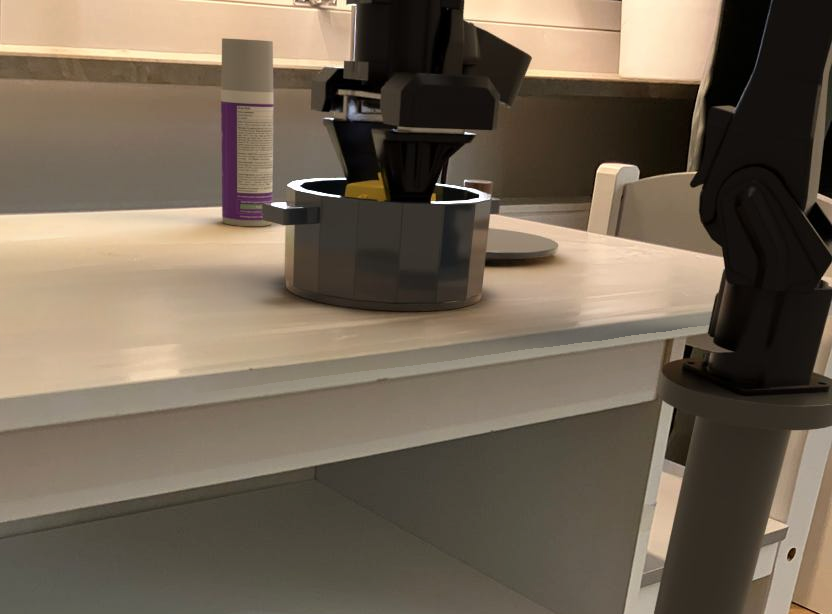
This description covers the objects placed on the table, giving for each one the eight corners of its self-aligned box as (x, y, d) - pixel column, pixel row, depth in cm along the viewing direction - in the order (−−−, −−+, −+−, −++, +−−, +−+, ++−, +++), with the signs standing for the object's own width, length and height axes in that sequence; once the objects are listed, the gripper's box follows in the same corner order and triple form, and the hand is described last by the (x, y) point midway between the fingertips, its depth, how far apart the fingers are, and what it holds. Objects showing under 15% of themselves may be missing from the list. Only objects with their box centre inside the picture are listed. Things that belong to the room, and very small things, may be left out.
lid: (592, 260, 90) (603, 189, 87) (469, 271, 82) (477, 194, 79) (473, 234, 100) (479, 170, 97) (353, 243, 92) (356, 173, 89)
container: (217, 218, 100) (215, 38, 93) (265, 219, 102) (267, 41, 94) (227, 226, 96) (226, 38, 89) (277, 226, 98) (279, 41, 91)
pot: (548, 297, 74) (561, 198, 71) (335, 323, 64) (340, 208, 60) (419, 265, 83) (426, 176, 80) (215, 283, 73) (214, 181, 69)
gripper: (597, -30, 59) (558, 261, 66) (462, -16, 74) (443, 220, 82) (413, -46, 56) (394, 263, 63) (311, -28, 71) (306, 219, 78)
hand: (388, 238), depth 72 cm, fingers closed on teapot, 6 cm apart
